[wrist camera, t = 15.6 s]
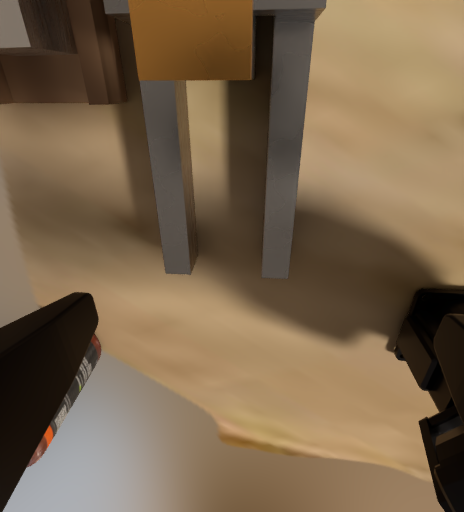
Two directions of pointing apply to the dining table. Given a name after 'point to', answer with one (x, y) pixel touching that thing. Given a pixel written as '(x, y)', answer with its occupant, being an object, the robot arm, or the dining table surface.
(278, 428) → the dining table surface
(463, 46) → the dining table surface
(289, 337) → the dining table surface
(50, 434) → the supplement bottle
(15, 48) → the bar
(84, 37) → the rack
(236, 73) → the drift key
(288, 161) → the socket
